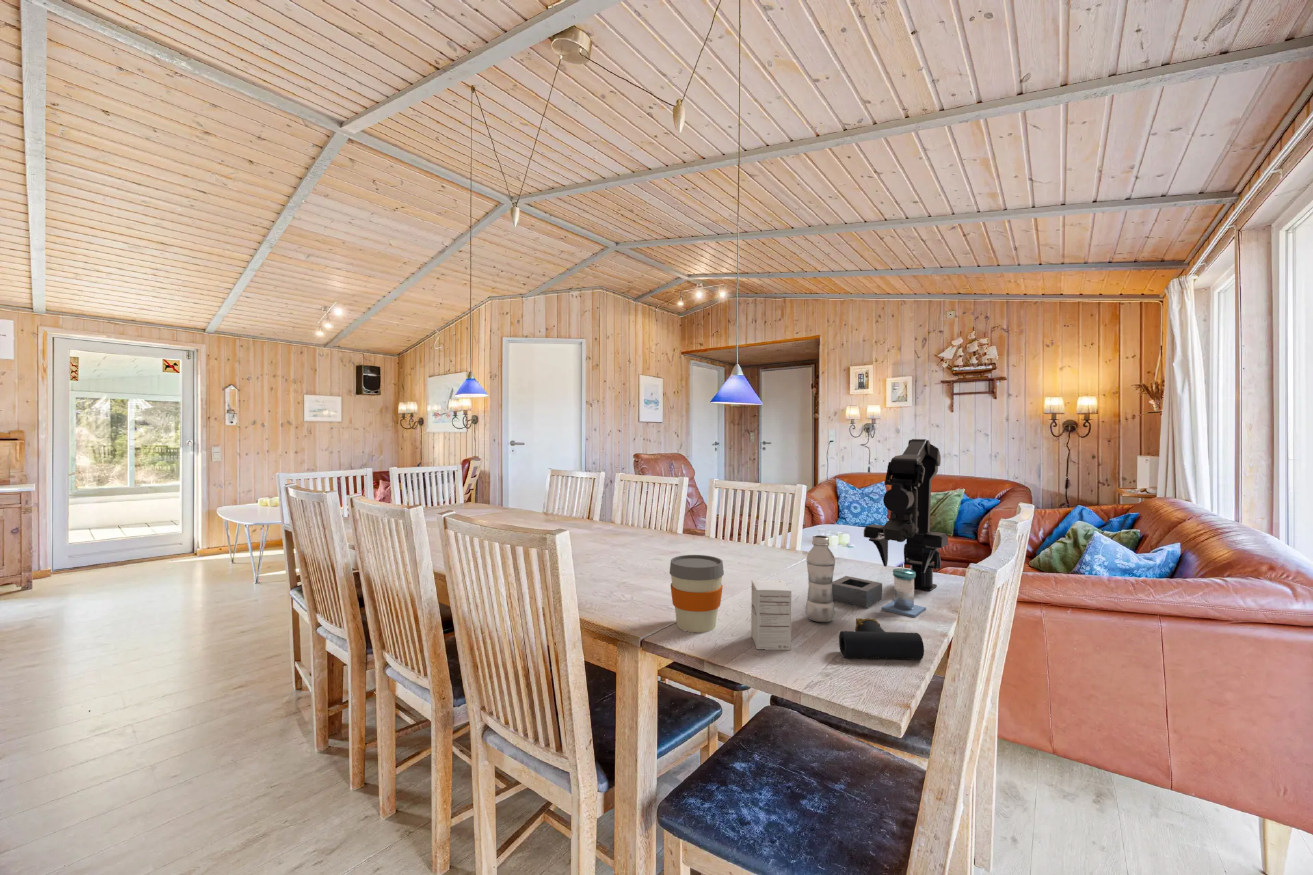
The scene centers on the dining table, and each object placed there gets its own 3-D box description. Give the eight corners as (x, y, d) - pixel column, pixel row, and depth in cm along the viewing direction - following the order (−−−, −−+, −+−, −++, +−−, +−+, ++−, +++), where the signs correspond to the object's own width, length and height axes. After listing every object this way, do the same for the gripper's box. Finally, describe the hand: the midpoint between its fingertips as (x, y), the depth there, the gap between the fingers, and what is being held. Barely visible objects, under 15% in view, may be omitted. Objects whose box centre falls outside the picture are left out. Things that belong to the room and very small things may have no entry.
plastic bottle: (810, 613, 133) (811, 532, 133) (838, 619, 129) (839, 536, 129) (801, 621, 128) (801, 537, 128) (829, 627, 124) (830, 540, 124)
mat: (893, 602, 142) (893, 600, 142) (925, 609, 136) (925, 607, 136) (881, 609, 136) (881, 607, 136) (914, 617, 131) (914, 615, 131)
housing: (845, 591, 151) (846, 575, 151) (881, 599, 144) (882, 583, 144) (829, 599, 144) (829, 583, 144) (866, 608, 137) (866, 591, 137)
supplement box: (750, 636, 119) (750, 579, 118) (784, 636, 118) (784, 579, 118) (755, 650, 111) (756, 589, 111) (791, 650, 111) (792, 589, 111)
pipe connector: (830, 614, 118) (900, 616, 117) (830, 638, 118) (900, 640, 117) (846, 636, 106) (924, 637, 106) (846, 662, 107) (923, 664, 106)
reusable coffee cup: (701, 640, 116) (701, 571, 116) (658, 625, 125) (658, 561, 125) (734, 624, 126) (734, 560, 125) (692, 612, 134) (692, 552, 134)
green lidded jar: (897, 602, 140) (897, 567, 140) (918, 607, 136) (918, 571, 136) (889, 607, 136) (889, 571, 136) (910, 612, 133) (911, 575, 133)
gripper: (854, 507, 136) (854, 568, 137) (934, 515, 124) (933, 583, 124) (872, 502, 145) (872, 561, 145) (949, 510, 132) (948, 574, 132)
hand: (903, 569), depth 136 cm, fingers open, 9 cm apart
